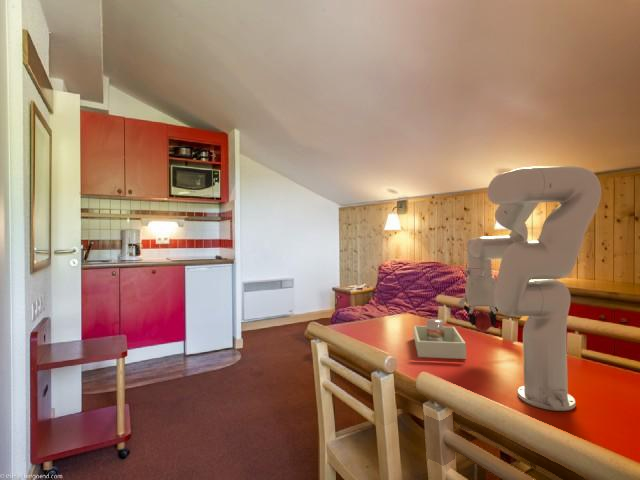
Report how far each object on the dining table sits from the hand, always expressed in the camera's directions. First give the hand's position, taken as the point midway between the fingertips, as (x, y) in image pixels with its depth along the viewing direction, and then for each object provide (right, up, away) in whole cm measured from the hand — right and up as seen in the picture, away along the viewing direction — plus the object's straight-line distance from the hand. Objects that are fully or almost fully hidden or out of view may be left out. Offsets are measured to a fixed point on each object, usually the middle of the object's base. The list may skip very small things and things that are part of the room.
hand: (482, 324), depth 120 cm
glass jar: (-11, -12, +17) cm, 23 cm away
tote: (-12, -12, +11) cm, 20 cm away
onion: (0, -3, 0) cm, 3 cm away
